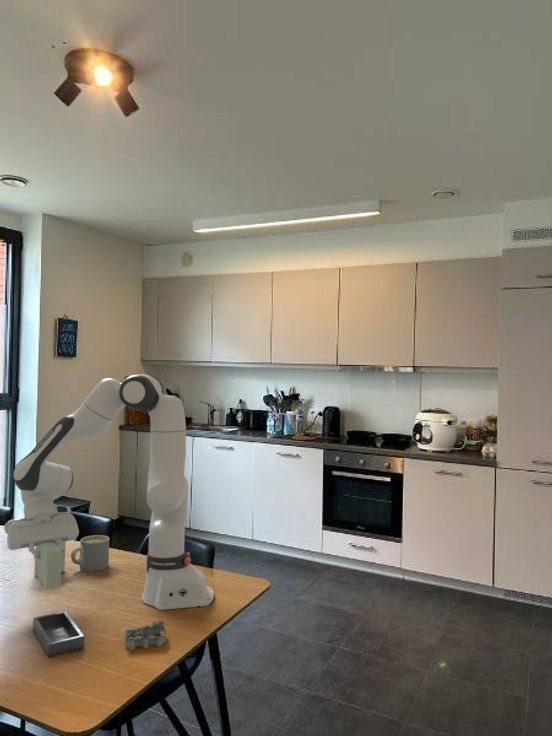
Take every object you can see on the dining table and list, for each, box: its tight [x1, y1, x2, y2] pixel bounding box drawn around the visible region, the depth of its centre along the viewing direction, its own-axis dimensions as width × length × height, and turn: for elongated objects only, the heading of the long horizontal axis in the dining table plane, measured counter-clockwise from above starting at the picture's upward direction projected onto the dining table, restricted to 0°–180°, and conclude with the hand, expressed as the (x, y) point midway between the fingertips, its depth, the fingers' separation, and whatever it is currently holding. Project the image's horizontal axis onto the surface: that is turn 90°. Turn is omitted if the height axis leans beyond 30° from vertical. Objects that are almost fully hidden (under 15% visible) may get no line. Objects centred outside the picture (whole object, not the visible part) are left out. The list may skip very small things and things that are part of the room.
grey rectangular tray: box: [32, 610, 85, 659], centre depth 146 cm, size 9×18×3 cm, turn 35°
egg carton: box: [124, 620, 167, 650], centre depth 146 cm, size 11×8×4 cm
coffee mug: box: [70, 534, 110, 573], centre depth 200 cm, size 13×10×10 cm
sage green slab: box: [37, 542, 62, 589], centre depth 162 cm, size 4×10×10 cm, turn 35°
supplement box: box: [34, 541, 67, 577], centre depth 193 cm, size 7×7×13 cm
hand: (47, 556), depth 165 cm, fingers closed on sage green slab, 4 cm apart
